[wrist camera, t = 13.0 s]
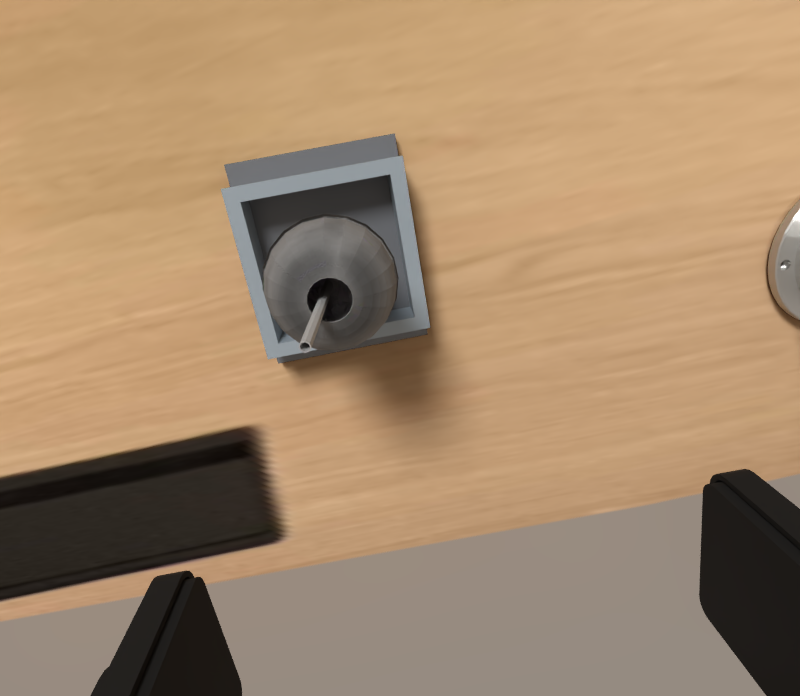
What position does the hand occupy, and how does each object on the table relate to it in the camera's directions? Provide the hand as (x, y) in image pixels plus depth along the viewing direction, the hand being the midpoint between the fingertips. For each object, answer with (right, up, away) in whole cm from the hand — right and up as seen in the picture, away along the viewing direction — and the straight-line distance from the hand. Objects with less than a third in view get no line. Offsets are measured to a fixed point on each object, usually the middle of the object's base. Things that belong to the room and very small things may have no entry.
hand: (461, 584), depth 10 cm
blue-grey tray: (-6, +12, +31) cm, 33 cm away
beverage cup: (-6, +12, +30) cm, 32 cm away
